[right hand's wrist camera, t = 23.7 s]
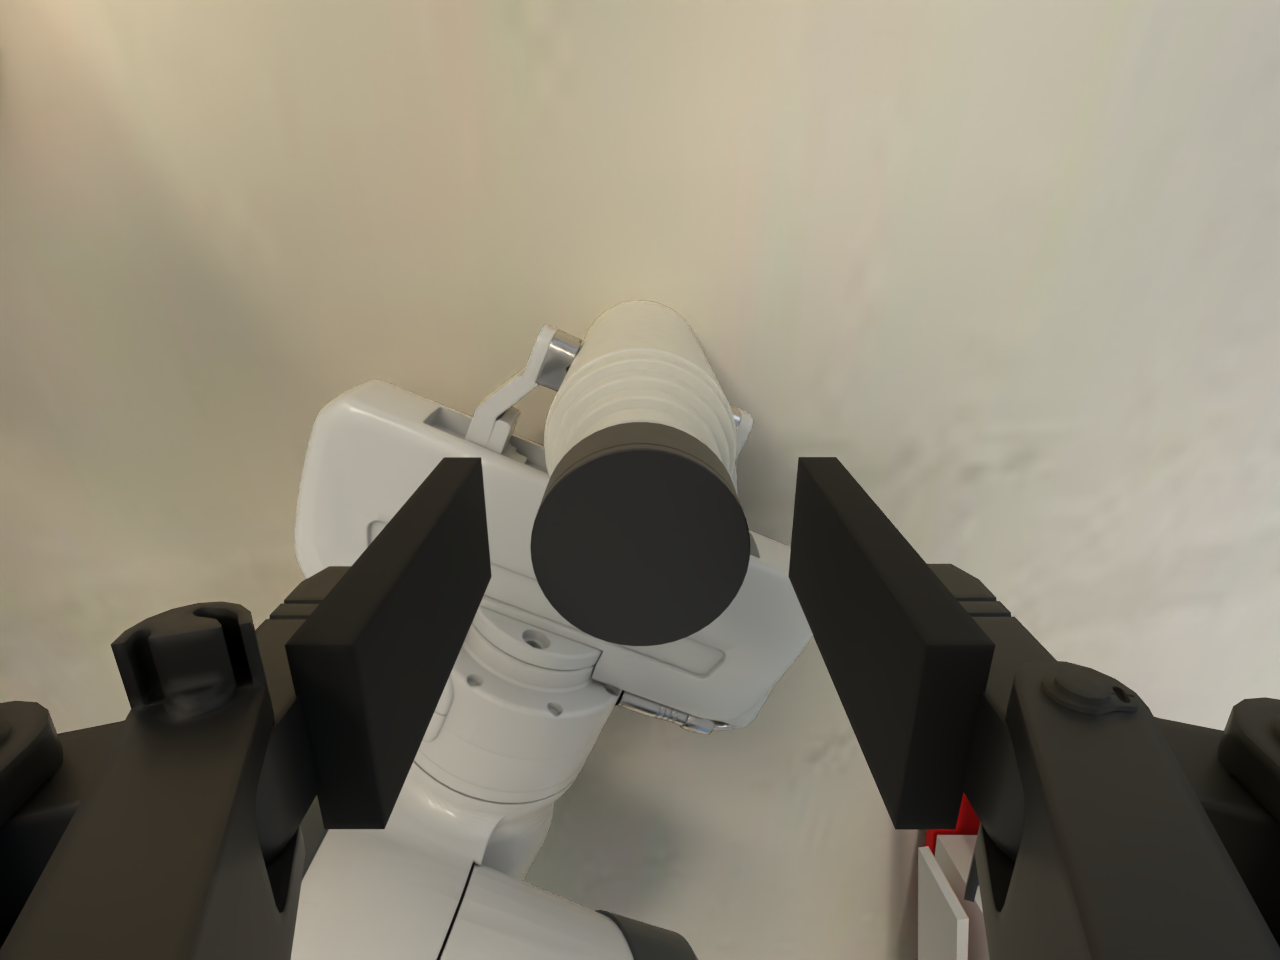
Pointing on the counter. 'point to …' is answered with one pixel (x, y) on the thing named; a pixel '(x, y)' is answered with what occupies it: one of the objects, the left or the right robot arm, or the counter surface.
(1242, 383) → the counter surface
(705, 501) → the cap
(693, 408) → the bottle
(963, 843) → the toy
